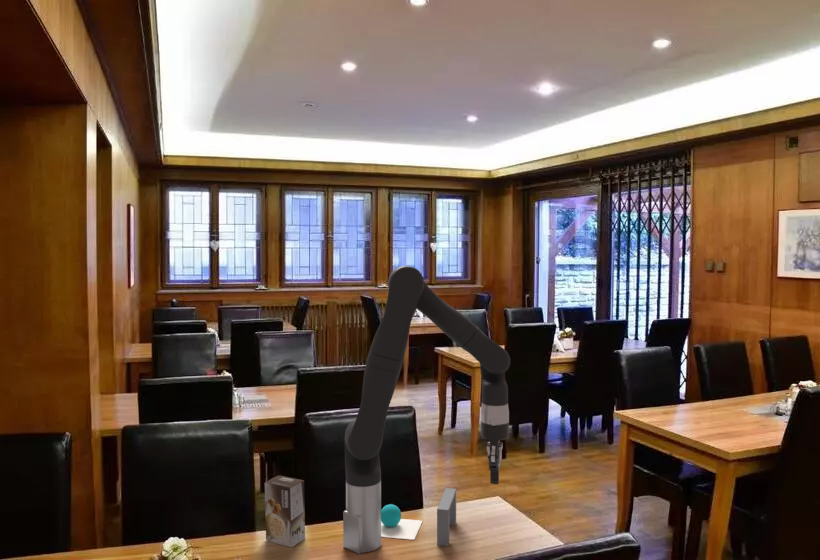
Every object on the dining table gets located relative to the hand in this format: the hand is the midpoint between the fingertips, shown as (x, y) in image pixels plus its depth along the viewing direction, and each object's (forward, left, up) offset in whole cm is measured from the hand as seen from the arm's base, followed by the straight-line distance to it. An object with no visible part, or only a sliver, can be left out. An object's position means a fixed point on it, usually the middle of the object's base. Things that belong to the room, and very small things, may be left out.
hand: (494, 483), depth 168 cm
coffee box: (-38, +41, -15) cm, 59 cm away
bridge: (-6, +11, -15) cm, 20 cm away
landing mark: (-14, +23, -15) cm, 31 cm away
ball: (-14, +26, -12) cm, 32 cm away
